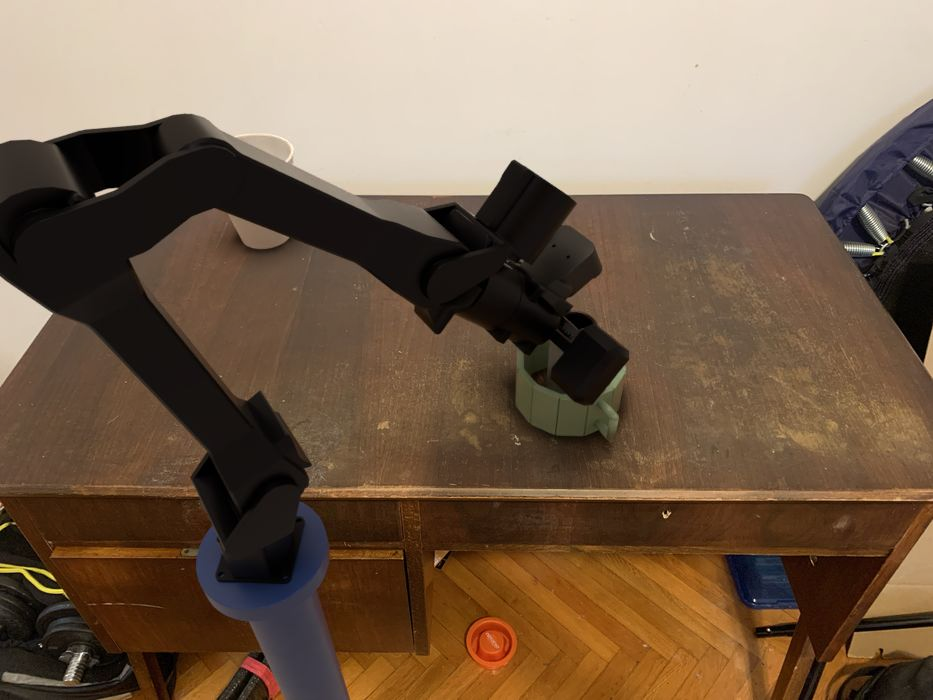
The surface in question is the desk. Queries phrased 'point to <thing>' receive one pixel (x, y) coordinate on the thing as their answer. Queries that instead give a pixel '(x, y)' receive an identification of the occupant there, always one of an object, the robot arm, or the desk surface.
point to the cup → (250, 231)
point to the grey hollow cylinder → (579, 322)
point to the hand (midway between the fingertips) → (582, 343)
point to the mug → (564, 401)
